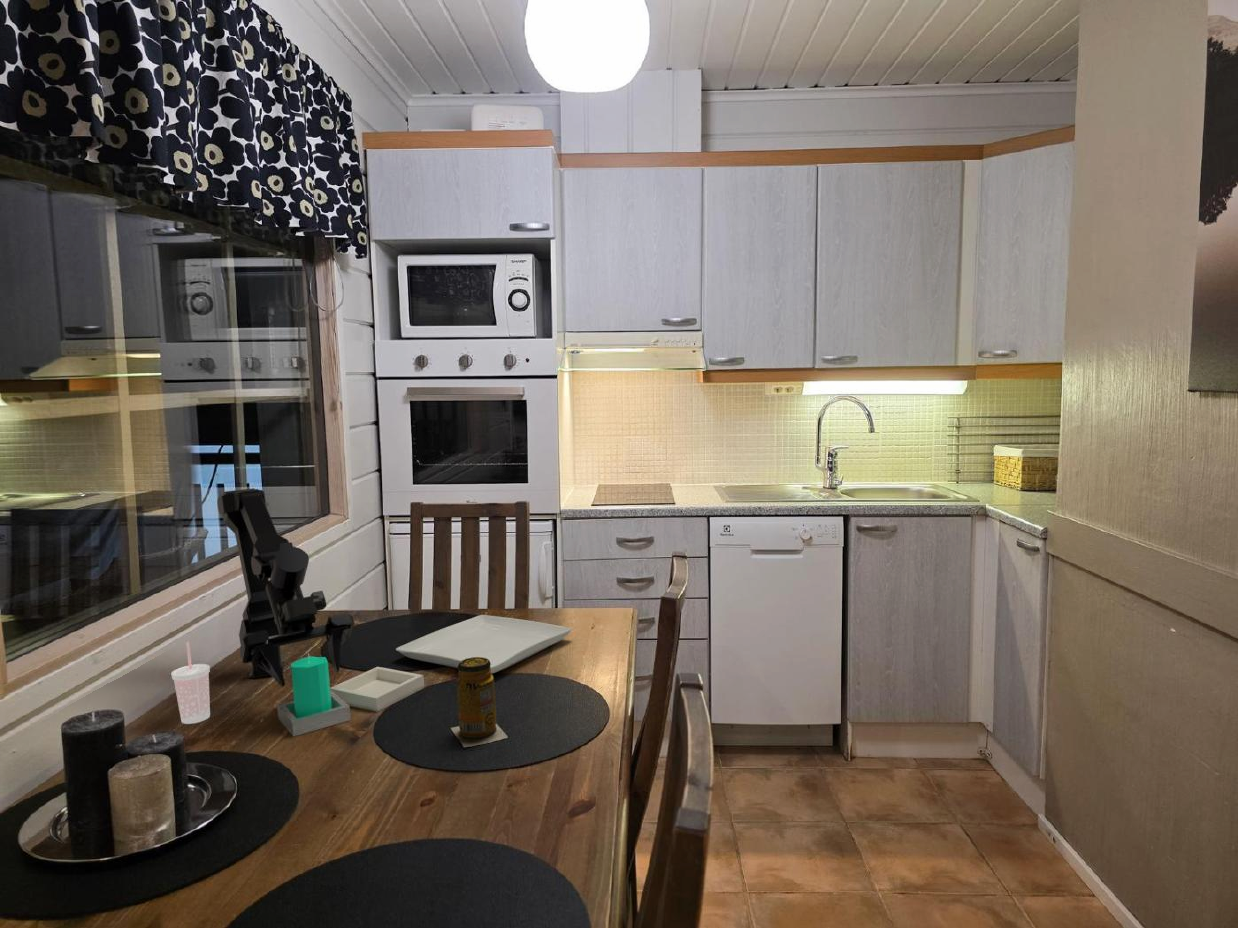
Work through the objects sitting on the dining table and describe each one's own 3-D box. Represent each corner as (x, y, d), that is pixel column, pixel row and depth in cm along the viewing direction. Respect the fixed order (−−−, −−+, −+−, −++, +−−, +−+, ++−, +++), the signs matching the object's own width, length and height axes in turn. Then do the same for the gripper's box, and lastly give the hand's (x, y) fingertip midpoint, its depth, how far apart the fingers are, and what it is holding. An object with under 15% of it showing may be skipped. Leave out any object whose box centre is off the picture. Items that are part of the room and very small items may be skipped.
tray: (330, 701, 149) (329, 688, 149) (378, 678, 159) (377, 666, 159) (377, 711, 143) (376, 698, 143) (424, 687, 154) (423, 675, 153)
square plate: (575, 642, 177) (574, 625, 177) (492, 685, 154) (491, 666, 154) (482, 627, 192) (481, 611, 191) (394, 664, 169) (392, 646, 168)
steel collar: (278, 718, 142) (277, 704, 142) (333, 703, 148) (332, 690, 148) (293, 736, 135) (292, 722, 134) (350, 719, 140) (349, 706, 140)
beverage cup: (208, 708, 148) (200, 634, 147) (219, 717, 144) (211, 641, 143) (171, 719, 144) (163, 643, 143) (182, 728, 140) (174, 650, 138)
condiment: (492, 719, 138) (488, 651, 137) (508, 738, 130) (503, 666, 129) (450, 729, 135) (445, 660, 133) (464, 749, 127) (459, 675, 126)
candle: (320, 727, 138) (314, 659, 136) (288, 725, 139) (282, 658, 138) (339, 712, 144) (333, 647, 142) (308, 711, 145) (302, 646, 144)
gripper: (237, 589, 137) (258, 668, 129) (346, 569, 148) (372, 641, 141) (231, 624, 144) (252, 701, 137) (336, 603, 155) (361, 673, 148)
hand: (311, 678), depth 140 cm, fingers open, 9 cm apart
